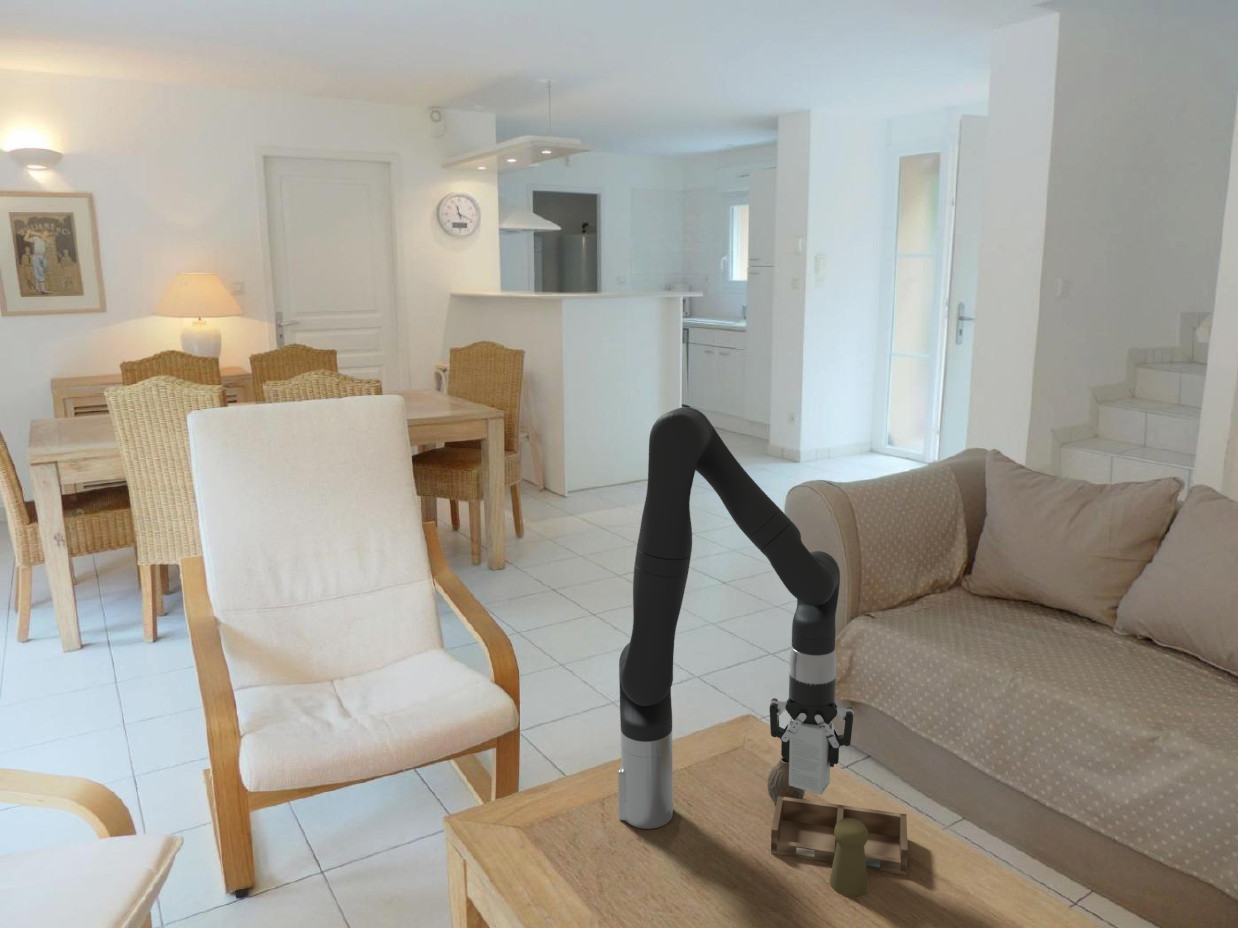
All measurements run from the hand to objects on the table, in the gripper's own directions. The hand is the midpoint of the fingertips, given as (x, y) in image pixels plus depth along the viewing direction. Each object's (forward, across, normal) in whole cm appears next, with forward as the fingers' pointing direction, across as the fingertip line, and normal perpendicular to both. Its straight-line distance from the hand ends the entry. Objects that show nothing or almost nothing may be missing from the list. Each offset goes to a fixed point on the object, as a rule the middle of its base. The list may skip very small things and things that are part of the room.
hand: (809, 761), depth 153 cm
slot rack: (+15, +5, 0) cm, 16 cm away
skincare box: (+5, 0, 0) cm, 5 cm away
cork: (+15, +7, -10) cm, 20 cm away
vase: (+15, -5, +10) cm, 19 cm away
